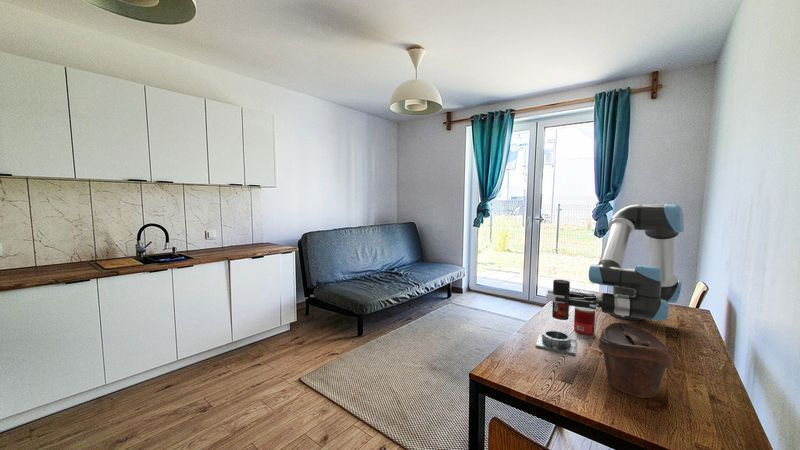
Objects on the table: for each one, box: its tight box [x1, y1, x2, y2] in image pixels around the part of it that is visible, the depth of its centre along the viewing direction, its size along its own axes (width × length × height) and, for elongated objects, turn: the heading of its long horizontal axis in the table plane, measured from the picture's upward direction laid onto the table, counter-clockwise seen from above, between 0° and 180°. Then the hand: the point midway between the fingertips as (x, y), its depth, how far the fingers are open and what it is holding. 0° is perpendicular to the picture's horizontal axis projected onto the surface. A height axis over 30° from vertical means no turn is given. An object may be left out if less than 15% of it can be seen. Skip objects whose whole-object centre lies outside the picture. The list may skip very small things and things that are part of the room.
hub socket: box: [535, 329, 577, 356], centre depth 128 cm, size 14×14×4 cm
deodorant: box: [551, 279, 571, 321], centre depth 126 cm, size 6×6×15 cm
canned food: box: [573, 306, 596, 336], centre depth 141 cm, size 8×8×11 cm
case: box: [598, 322, 675, 399], centre depth 98 cm, size 18×20×18 cm
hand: (547, 295), depth 129 cm, fingers closed on deodorant, 6 cm apart
